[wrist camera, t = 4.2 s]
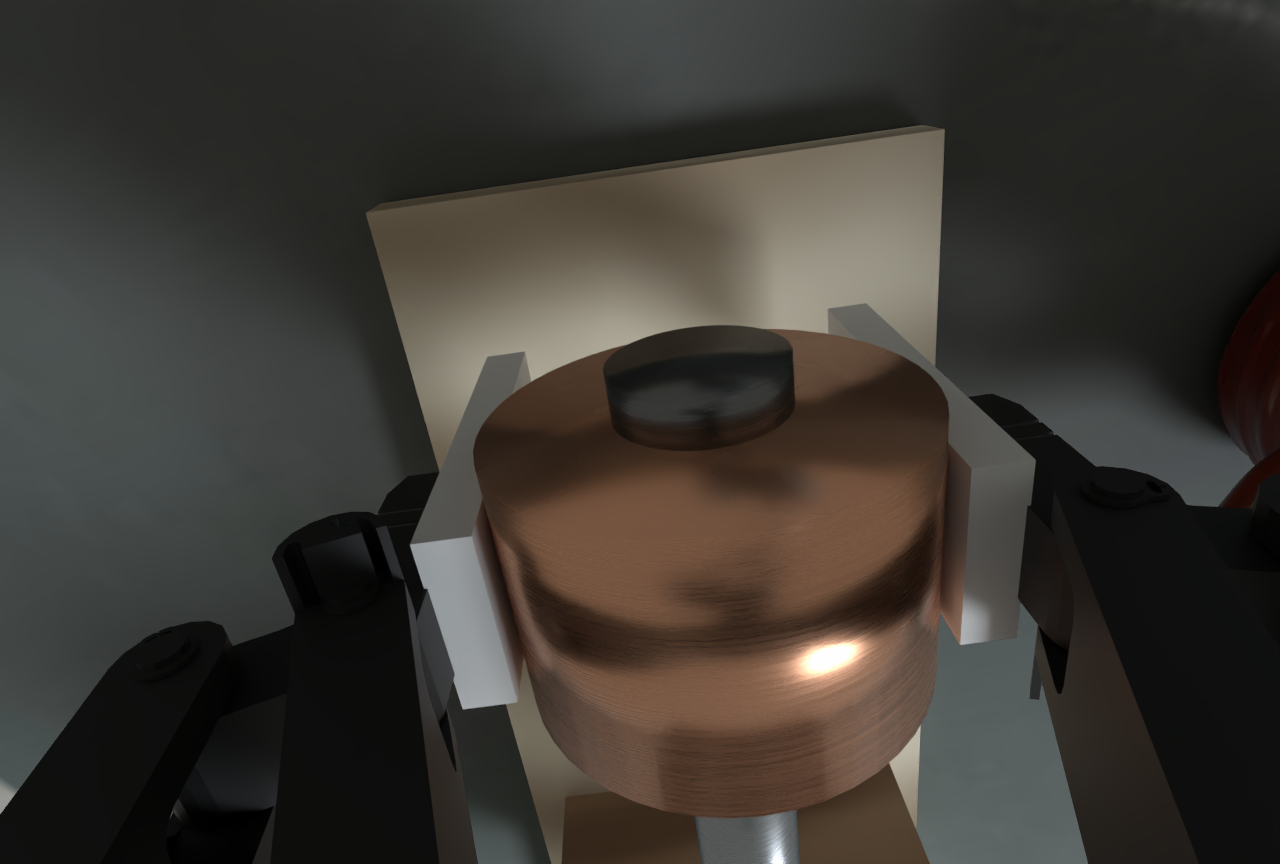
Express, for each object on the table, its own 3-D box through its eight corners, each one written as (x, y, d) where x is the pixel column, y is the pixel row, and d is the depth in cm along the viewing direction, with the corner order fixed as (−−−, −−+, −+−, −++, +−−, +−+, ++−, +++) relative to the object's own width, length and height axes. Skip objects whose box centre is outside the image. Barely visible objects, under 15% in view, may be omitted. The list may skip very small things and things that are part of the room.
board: (381, 203, 17) (365, 212, 16) (922, 124, 17) (944, 129, 15) (578, 918, 28) (576, 952, 27) (900, 879, 28) (912, 912, 27)
